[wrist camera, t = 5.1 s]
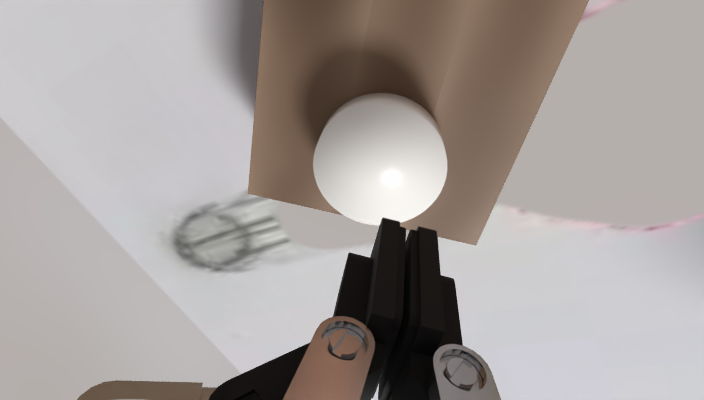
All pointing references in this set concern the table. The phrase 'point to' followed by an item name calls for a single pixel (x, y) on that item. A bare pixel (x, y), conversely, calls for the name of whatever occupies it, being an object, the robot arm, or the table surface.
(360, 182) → the white glossy ovoid
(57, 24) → the table surface
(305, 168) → the press console
